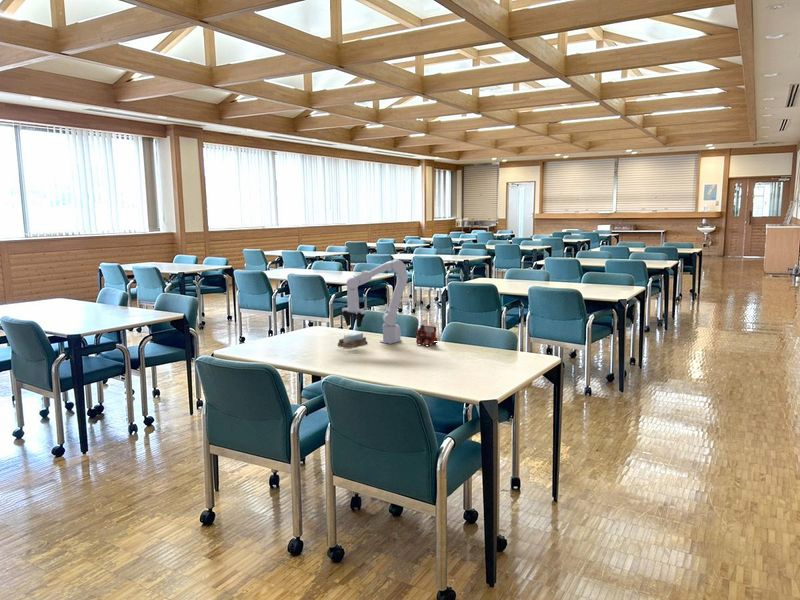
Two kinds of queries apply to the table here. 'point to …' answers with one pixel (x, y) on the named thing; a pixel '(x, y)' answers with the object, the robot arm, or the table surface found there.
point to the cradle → (353, 342)
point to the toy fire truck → (426, 335)
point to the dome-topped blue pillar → (352, 337)
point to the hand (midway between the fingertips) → (353, 326)
